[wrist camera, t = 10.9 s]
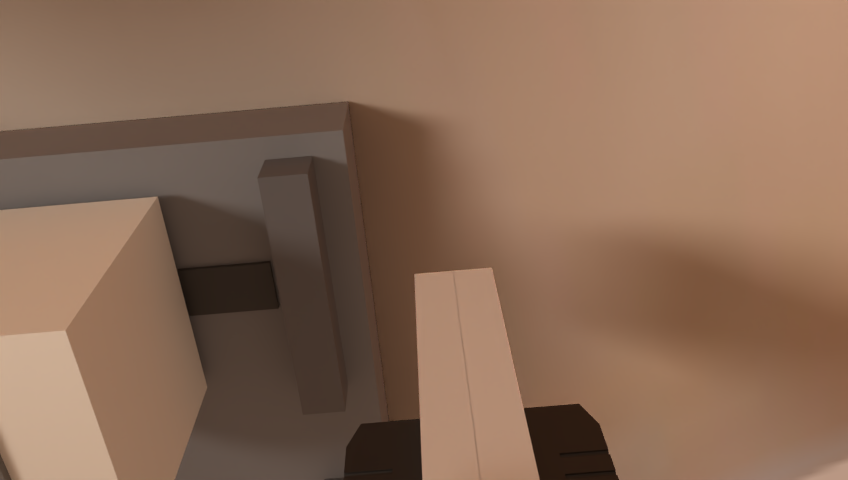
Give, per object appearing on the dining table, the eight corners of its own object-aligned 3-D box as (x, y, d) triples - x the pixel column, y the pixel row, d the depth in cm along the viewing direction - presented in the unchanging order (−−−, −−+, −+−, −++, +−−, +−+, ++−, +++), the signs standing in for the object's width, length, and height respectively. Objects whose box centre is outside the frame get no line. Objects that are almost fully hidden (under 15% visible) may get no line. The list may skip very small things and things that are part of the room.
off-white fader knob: (41, 401, 18) (-78, 585, 14) (-32, 212, 16) (-203, 358, 11) (207, 387, 18) (143, 567, 14) (157, 197, 16) (61, 336, 11)
